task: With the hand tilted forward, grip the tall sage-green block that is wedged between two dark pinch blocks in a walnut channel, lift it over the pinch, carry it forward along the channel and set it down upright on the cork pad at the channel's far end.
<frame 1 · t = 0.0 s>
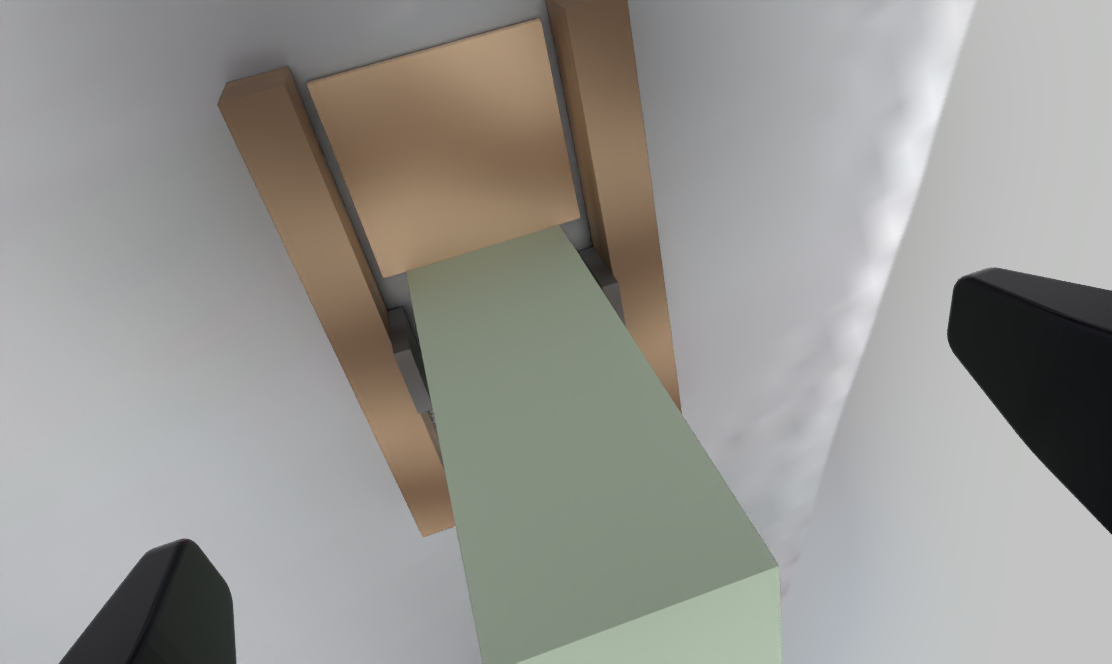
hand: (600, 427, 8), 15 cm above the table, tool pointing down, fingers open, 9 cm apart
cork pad: (455, 154, 21), on the table
channel: (493, 283, 24), on the table
sage block: (500, 308, 24), on the table
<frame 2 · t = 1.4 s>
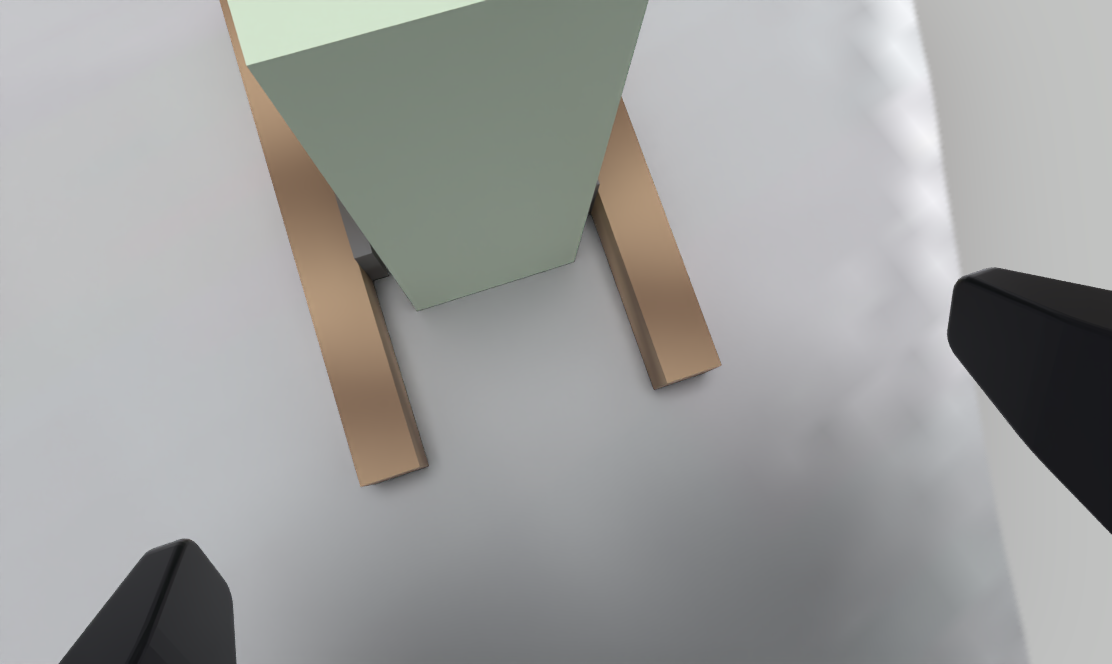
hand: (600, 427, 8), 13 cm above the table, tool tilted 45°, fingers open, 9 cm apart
channel: (461, 181, 23), on the table
sage block: (471, 211, 23), on the table
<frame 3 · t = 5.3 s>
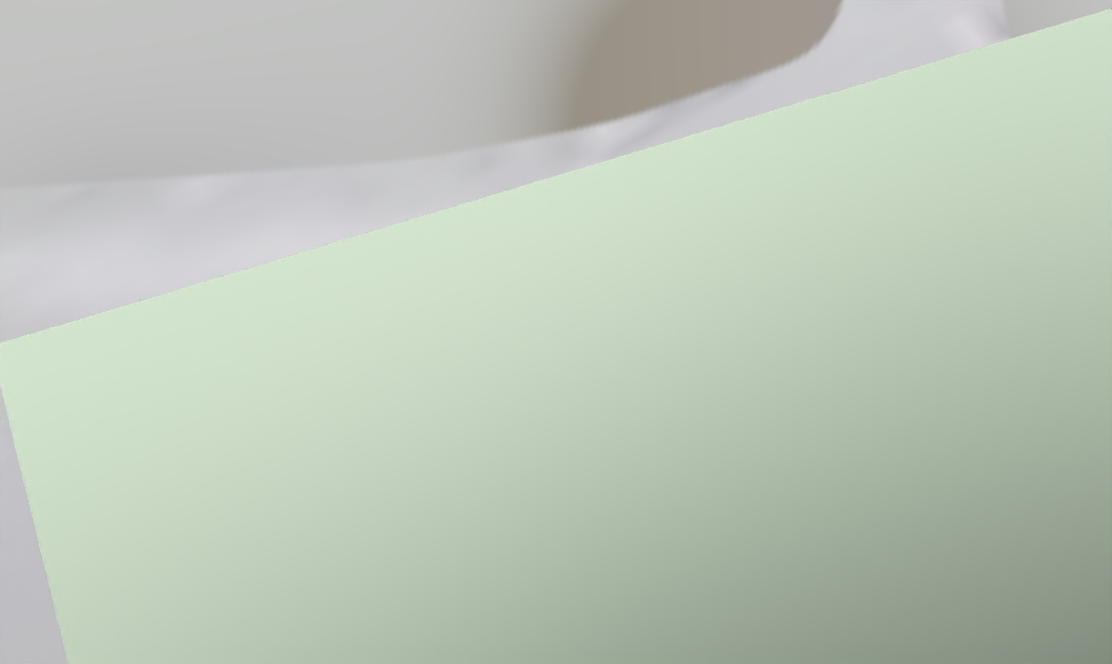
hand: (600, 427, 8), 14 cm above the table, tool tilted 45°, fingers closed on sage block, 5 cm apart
sage block: (576, 494, 16), point 5 cm above the table, touching gripper
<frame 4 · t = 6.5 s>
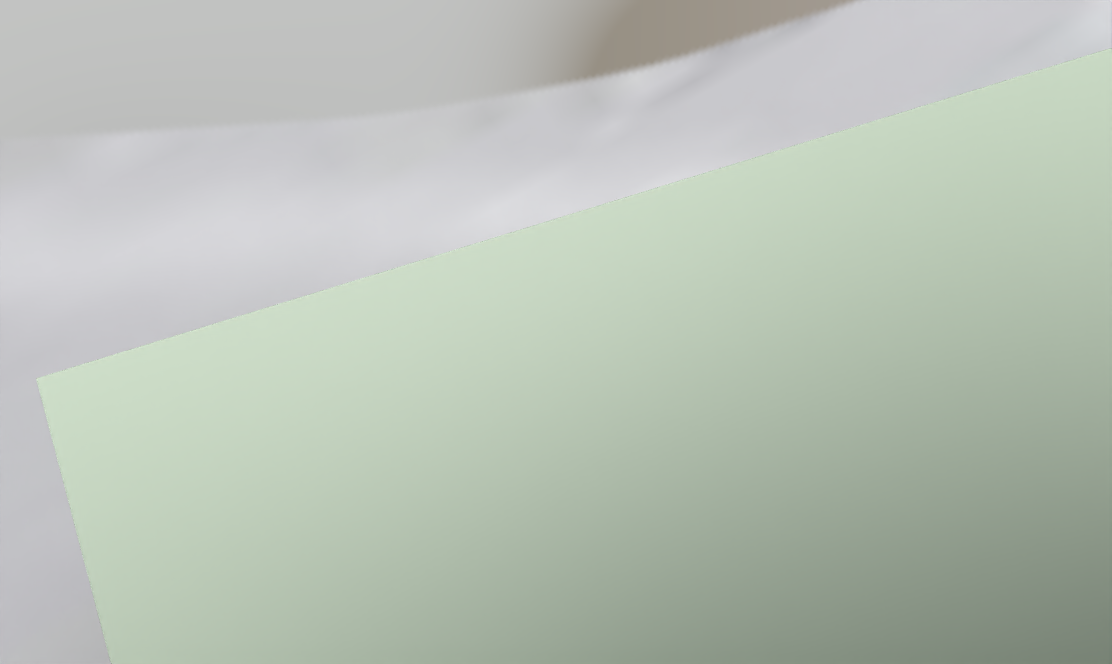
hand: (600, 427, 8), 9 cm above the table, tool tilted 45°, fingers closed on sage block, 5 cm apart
sage block: (572, 484, 16), resting on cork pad, touching gripper
when the fingers open (9 cm above the table, at t = 7.0 s): sage block stays where it is, resting on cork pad.
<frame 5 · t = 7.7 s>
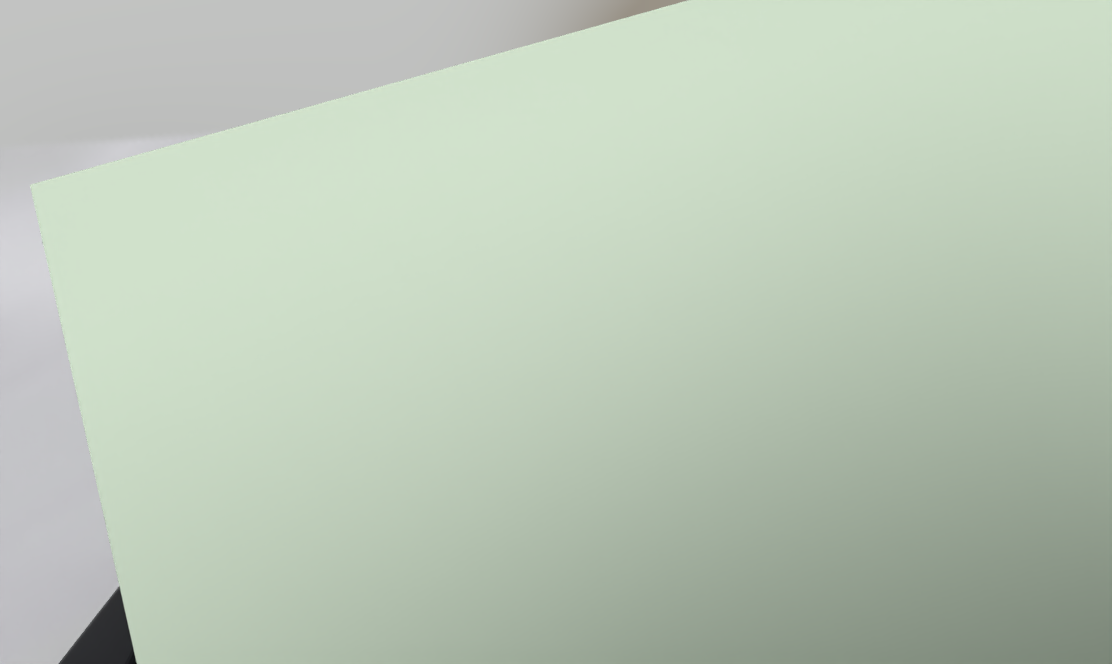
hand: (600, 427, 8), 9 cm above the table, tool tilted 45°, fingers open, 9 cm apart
sage block: (574, 492, 17), resting on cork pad
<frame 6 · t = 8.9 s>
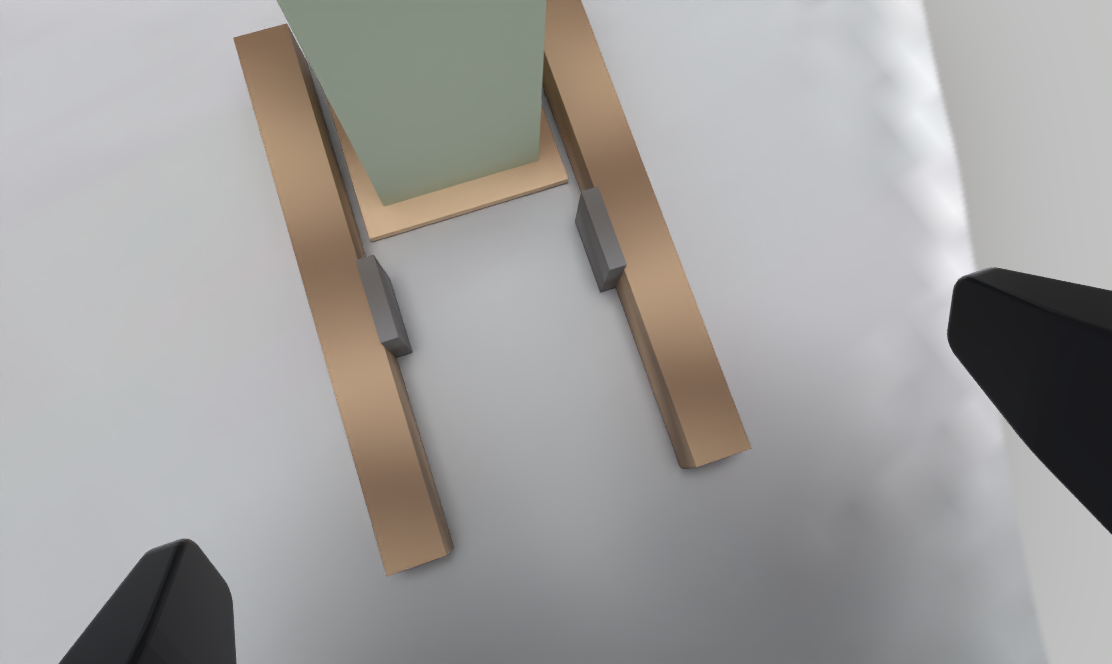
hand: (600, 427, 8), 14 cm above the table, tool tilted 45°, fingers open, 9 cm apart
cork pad: (442, 126, 23), on the table
channel: (485, 255, 23), on the table
sage block: (438, 112, 23), resting on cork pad
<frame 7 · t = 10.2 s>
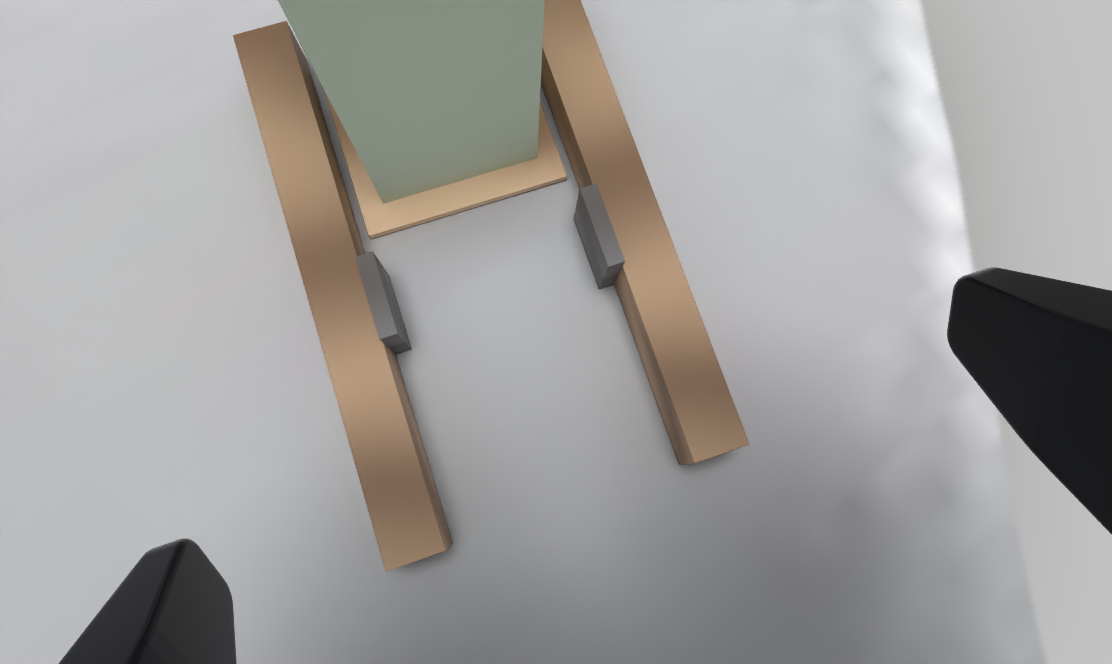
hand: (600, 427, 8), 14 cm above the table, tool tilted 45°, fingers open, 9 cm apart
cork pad: (441, 124, 23), on the table
channel: (484, 252, 23), on the table
sage block: (437, 109, 23), resting on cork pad
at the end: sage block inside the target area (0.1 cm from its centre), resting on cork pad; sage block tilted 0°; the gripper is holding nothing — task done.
